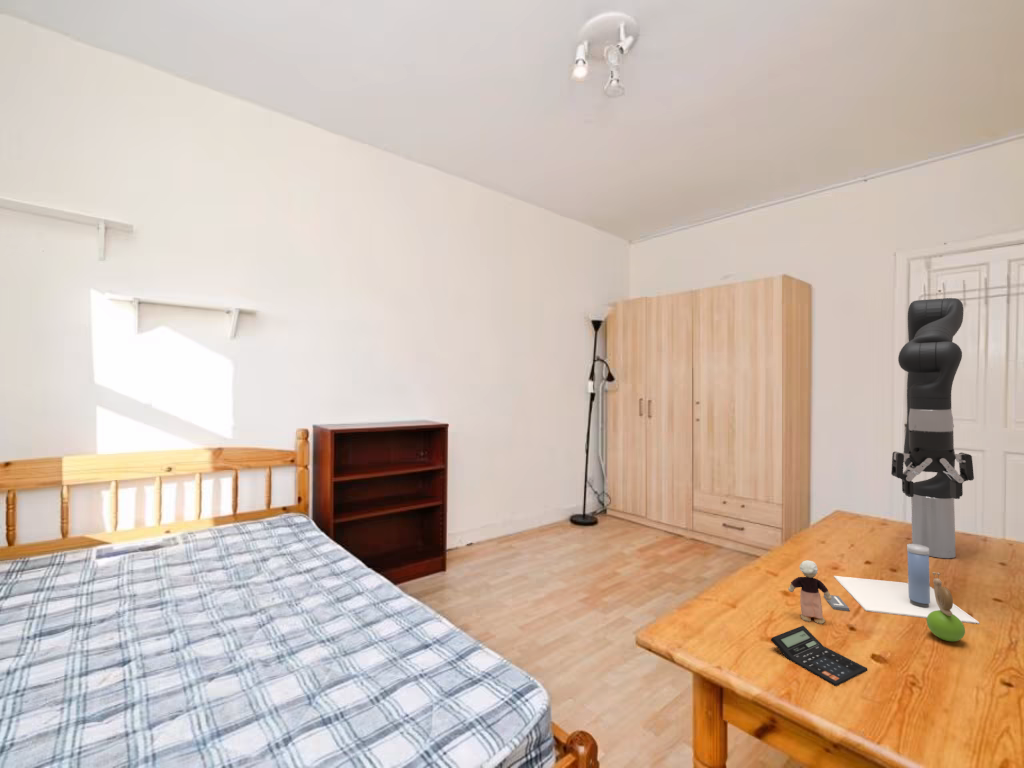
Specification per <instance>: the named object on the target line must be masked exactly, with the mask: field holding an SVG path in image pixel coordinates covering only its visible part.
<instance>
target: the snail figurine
mask: <svg viewBox="0 0 1024 768" xmlns="http://www.w3.org/2000/svg"><path fill="white" fill-rule="evenodd" d="M931 573H932V575H933V580H932V581H933V582H932V583H933V589H934V593H935V598H936V602H937V605H938V606H939V608H940V610H937V611H933V612H931V613H930V614H929V615H928V616H927V618H926V625H927V627H928V629H929V630H930V632H931V633H932V634H933V635H934V636H935V637H938V638H939V639H940V640H943V641H946V642H958V641H961V640H962V639H963V638H964V636H965V634H966V629H965V626H964V624H963V623H964V622H961V621H960V619H959V618H957V617H956V616H955V615H953V614H952V612H951V611H950V609H951V608H952V606H953V604H954V599H953V595H952V593H951V590H949V589H948V587H946V586H942V585H943V583H942V580H941V579H940V575H941V573H940V572H936V571H932V572H931ZM936 575H937V577H936V578H935V576H936Z"/></svg>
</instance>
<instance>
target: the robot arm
mask: <svg viewBox="0 0 1024 768" xmlns="http://www.w3.org/2000/svg"><path fill="white" fill-rule="evenodd" d="M963 320H964V305H963V302H962V301H961V300H960V299H959V298H954V297H944V298H932V299H920V300H919V299H918V300H914V301H911V303H910V304H909V306H908V310H907V334H908V335H907V337H908V338H907V339H908V341H907V342H906V343H905V344H904V345H903V346H902V348H901V349H900V351H899V353H898V358H897V359H898V365H899V367H900V368H901V369H902V370H903V371H905V372H907V383H906V384H907V385H906V410H907V411H906V427H905V436H904V444H903V452H899V451H893V452H892V453H891V454H892V457H891V458H892V459H891V475H892V476H893V477H896V478H898V479H901V491H902V493H904V494H905V496H906V497H909V498H911V500H910V501H911V544H919V545H923V546H926V547H928V548H929V557H933V558H941V559H954V558H955V557H956V518H955V517H956V516H955V515H956V514H955V499H956V500H959V499H961V497H962V496H963V493H964V492H963V483H965V482H967V481H973V480H974V479H975V475H974V465H973V464H974V463H973V456H972V455H971V454H969V453H966V452H959V453H955V448H954V445H955V444H954V441H955V440H954V427H955V425H954V417H953V412H952V390H953V383H954V380H955V377H956V374H957V372H958V369H959V366H960V364H961V362H962V359H963V352H962V349H961V347H960V346H959V345H958V344H957V343H955V342H953V340H954V336H956V334H957V333H958V332H959V330H960V328H961V327H962V324H963ZM956 462H957V463H958V466H959V467H958V469H959V472H958V471H957V470H956V469H955V466H956ZM904 465H905V467H906V468H905V470H904ZM922 472H924V473H936V474H935V476H932V477H930V478H927V479H924V480H919V481H916V482H914V481H913V480H914V478H916V477H917V476H918V475H920V474H921V473H922Z"/></svg>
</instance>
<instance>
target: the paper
mask: <svg viewBox="0 0 1024 768" xmlns="http://www.w3.org/2000/svg"><path fill="white" fill-rule="evenodd" d="M833 578H834V579H835V580H836V581H837V582H838V583H839V584H840V585H841V586H842V587H843V588H844V589H845V591H846V592H848V594H849V595H850V596H851V597H852V598H853V599H854V600H855V601H856V602H857V603H858V604H859V605H860V606H861V608H862V609H863V610H865V612H873V613H879V614H880V613H881V614H888V615H889V614H890V615H899V616H907V617H916V618H922V619H923V618H924V619H927V616H928V615H929V614H930V613H931V612H933V611H937V610H940V608H939V606H938V605H937V602H936V598H935V593H934V587H932V586H930V603H929V607H928V608H923V607H918V606H915V605H913V604H911V603H910V599H909V591H908V582H901V581H891V580H882V579H881V580H880V579H872V578H870V579H869V578H859V577H850V576H838V575H833ZM950 611H951V612H952V614H953V615H955V616H956V617H957V618H959V619H960V621H961V622H962V623H966V624H967V623H968V624H976V623H977V624H976V625H980V622H979V620H977V619H975V618H974V617H972V615H970V614H968V613H967V612H966V611H965V610H963V609H961V608H960V607H959V606H957V605H956V604H955V603H953V606H952V608H951V609H950Z"/></svg>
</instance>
